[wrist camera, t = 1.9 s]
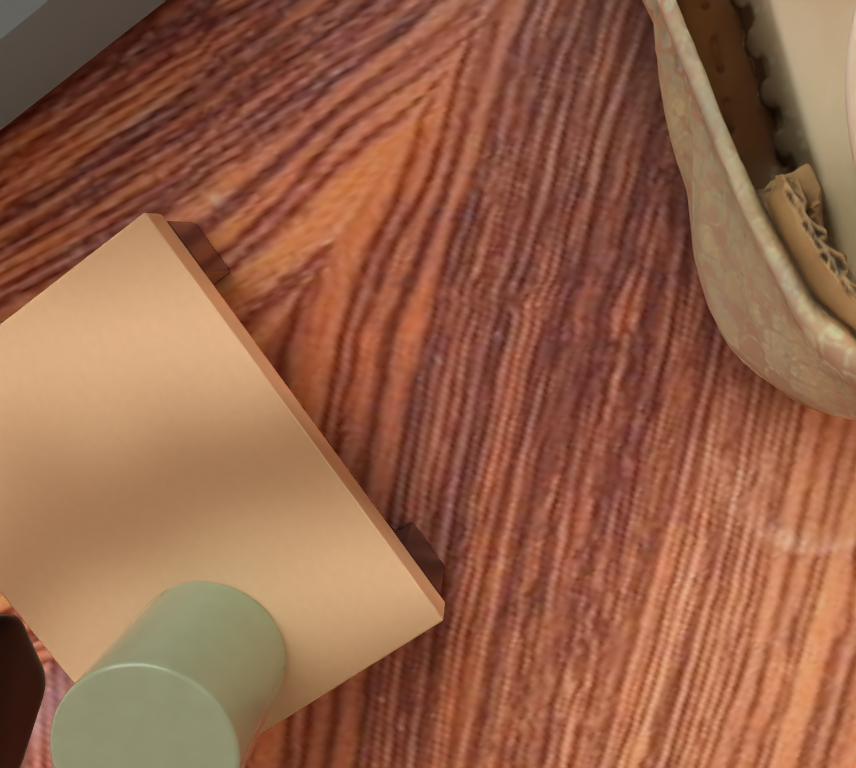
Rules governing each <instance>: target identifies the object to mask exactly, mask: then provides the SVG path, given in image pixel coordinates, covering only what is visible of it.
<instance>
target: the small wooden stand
mask: <svg viewBox="0 0 856 768" xmlns="http://www.w3.org/2000/svg"><path fill="white" fill-rule="evenodd" d="M228 273H229V268H228V267H227V265H226V264H225V263H224V261H223V260H222V259H221V257H220V256H219V254H218V253H217V252H216V250H215V249H214V248H213V246H212V245H211V243H210V242H209V241H208V239H207V238H206V236H205V235H204V234H203V232H202V231H201V230H200V228H199V227H198V225H197V224H196V223H192V222H172V221H166V220H165V218H164V217H163V216H162V215H161V214H155V213H143V214H142V215H140V216H139V217H138V218H137V219H135V220H134V221H133V222H131V223H130V224H129V225H128V226H126V227H125V228H124V229H122V230H121V231H120V232H118V233H117V234H116V235H115V236H113V237H112V238H111V239H109V240H108V241H107V242H106V243H104V244H103V245H102V246H100V247H99V248H98V249H97V250H95V251H94V252H93V253H91V254H90V255H89V256H88V257H86V258H85V259H84V260H82V261H81V262H80V263H78V264H77V265H76V266H75V267H73V268H72V269H71V270H69V271H68V272H67V273H66V274H64V275H63V276H62V277H60V278H59V279H58V280H57V281H55V282H54V283H53V284H51V285H50V286H49V287H48V288H46V289H45V290H44V291H42V292H41V293H40V294H38V295H37V296H36V297H35V298H33V299H32V300H31V301H29V302H28V303H27V304H26V305H24V306H23V307H22V308H20V309H19V310H18V311H17V312H15V313H14V314H13V315H11V316H10V317H9V318H8V319H6V320H5V321H4V322H2V323H1V324H0V592H1V593H2V594H3V595H4V597H5V598H6V599H7V600H8V602H9V603H10V604H11V605H12V607H13V608H14V609H15V610H16V612H17V613H18V614H19V615H20V617H21V618H22V619H23V620H24V622H25V623H26V624H27V625H28V627H29V628H30V629H31V630H32V632H33V633H34V634H35V635H36V636H37V638H38V639H39V640H40V641H41V643H42V644H43V645H44V646H45V648H46V649H47V650H48V651H49V653H50V654H51V655H52V656H53V658H54V659H55V660H56V661H57V663H58V664H59V665H60V666H61V668H62V669H63V670H64V671H65V673H66V674H67V675H68V676H69V678H70V679H71V680H72V681H73V683H75V682H76V681H77V680H78V679H79V678H80V677H81V676H82V675H83V674H84V673H85V671H86V670H87V669H88V668H89V667H90V666H91V665H92V664H93V663H94V662H95V661H96V659H97V658H98V657H99V656H100V655H101V654H102V653H103V652H104V651H105V650H106V649H107V648H108V646H109V645H110V644H111V643H112V642H113V641H114V640H115V639H116V638H117V637H118V636H119V634H120V633H121V632H122V631H123V630H124V629H125V628H126V627H127V626H128V625H129V624H130V622H131V621H132V620H133V619H134V618H135V617H136V616H137V615H138V614H139V613H140V612H141V611H142V609H143V608H144V607H145V606H146V605H147V604H148V603H149V602H150V601H151V600H152V599H153V598H155V597H156V596H157V595H159V594H160V593H162V592H164V591H165V590H167V589H169V588H172V587H174V586H177V585H181V584H185V583H191V582H213V583H219V584H223V585H227V586H230V587H232V588H235V589H237V590H239V591H241V592H243V593H245V594H247V595H248V596H250V597H251V598H252V599H254V600H255V601H256V602H258V603H259V604H260V605H261V606H262V607H263V608H264V609H265V610H266V611H267V613H268V614H269V615H270V616H271V618H272V619H273V621H274V622H275V624H276V626H277V628H278V630H279V632H280V634H281V637H282V640H283V643H284V648H285V653H286V670H285V676H284V680H283V683H282V686H281V688H280V691H279V693H278V695H277V697H276V700H275V702H274V704H273V706H272V709H271V711H270V713H269V715H268V717H267V720H266V722H265V724H264V726H263V728H262V731H261V733H263V732H265V731H266V730H268V729H270V728H271V727H273V726H274V725H276V724H278V723H279V722H281V721H282V720H284V719H286V718H287V717H289V716H290V715H292V714H294V713H295V712H297V711H298V710H300V709H302V708H303V707H305V706H306V705H308V704H310V703H311V702H313V701H315V700H316V699H318V698H319V697H321V696H323V695H324V694H326V693H327V692H329V691H331V690H332V689H334V688H335V687H337V686H339V685H340V684H342V683H343V682H345V681H347V680H348V679H350V678H351V677H353V676H355V675H356V674H358V673H360V672H361V671H363V670H364V669H366V668H368V667H369V666H371V665H372V664H374V663H376V662H377V661H379V660H380V659H382V658H384V657H385V656H387V655H388V654H390V653H392V652H393V651H395V650H396V649H398V648H400V647H401V646H403V645H405V644H406V643H408V642H409V641H411V640H413V639H414V638H416V637H417V636H419V635H421V634H422V633H424V632H425V631H427V630H429V629H430V628H432V627H433V626H435V625H437V624H438V623H440V622H441V621H443V617H444V608H445V602H444V601H443V599H442V598H441V596H440V595H441V587H442V578H443V570H444V565H443V563H442V562H441V560H440V559H439V558H438V556H437V555H436V553H435V552H434V551H433V549H432V548H431V547H430V545H429V544H428V542H427V541H426V540H425V538H424V537H423V536H422V534H421V533H420V531H419V530H418V529H417V527H416V526H415V524H413V523H409V524H408V525H406V526H405V527H403V528H401V529H400V530H398V531H397V532H395V533H394V532H393V531H392V529H391V528H390V527H389V525H388V524H387V522H386V521H385V520H384V518H383V517H382V516H381V514H380V513H379V511H378V510H377V509H376V507H375V506H374V505H373V503H372V502H371V501H370V499H369V498H368V496H367V495H366V494H365V492H364V491H363V490H362V488H361V487H360V485H359V484H358V483H357V481H356V480H355V479H354V477H353V476H352V474H351V473H350V472H349V470H348V469H347V468H346V466H345V465H344V464H343V462H342V461H341V459H340V458H339V457H338V455H337V454H336V453H335V451H334V450H333V448H332V447H331V446H330V444H329V443H328V442H327V440H326V439H325V438H324V436H323V435H322V433H321V432H320V431H319V429H318V428H317V427H316V425H315V424H314V422H313V421H312V420H311V418H310V417H309V416H308V414H307V413H306V411H305V410H304V409H303V407H302V406H301V405H300V403H299V402H298V401H297V399H296V398H295V396H294V395H293V394H292V392H291V391H290V390H289V388H288V387H287V385H286V384H285V383H284V381H283V380H282V379H281V377H280V376H279V375H278V373H277V372H276V370H275V369H274V368H273V366H272V365H271V364H270V362H269V361H268V359H267V358H266V357H265V355H264V354H263V353H262V351H261V350H260V348H259V347H258V346H257V344H256V343H255V342H254V340H253V339H252V338H251V336H250V335H249V333H248V332H247V331H246V329H245V328H244V327H243V325H242V324H241V322H240V321H239V320H238V318H237V317H236V316H235V314H234V313H233V312H232V310H231V309H230V307H229V306H228V305H227V303H226V302H225V301H224V299H223V298H222V296H221V295H220V294H219V292H218V291H217V290H216V288H215V287H214V285H213V284H214V283H216V282H217V281H218V280H220V279H221V278H222V277H224V276H225V275H226V274H228ZM261 733H260V734H261Z"/></svg>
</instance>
